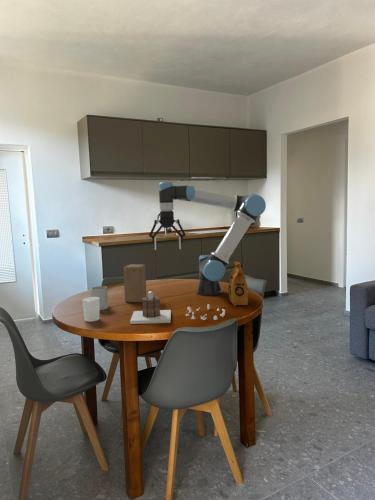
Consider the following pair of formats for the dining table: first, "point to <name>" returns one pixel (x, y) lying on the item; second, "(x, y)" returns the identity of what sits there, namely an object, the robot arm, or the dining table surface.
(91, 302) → the white cup
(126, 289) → the wooden block
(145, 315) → the walnut bead
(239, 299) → the coffee package
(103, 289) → the mug
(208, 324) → the dining table surface
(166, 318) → the white flat block
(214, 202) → the robot arm
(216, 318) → the game piece set
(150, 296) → the post
